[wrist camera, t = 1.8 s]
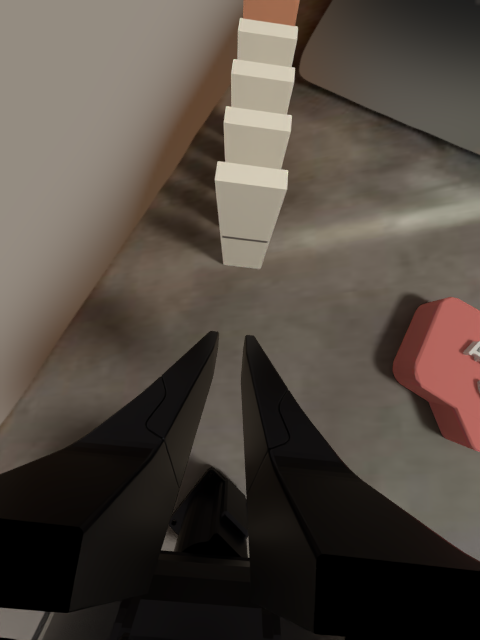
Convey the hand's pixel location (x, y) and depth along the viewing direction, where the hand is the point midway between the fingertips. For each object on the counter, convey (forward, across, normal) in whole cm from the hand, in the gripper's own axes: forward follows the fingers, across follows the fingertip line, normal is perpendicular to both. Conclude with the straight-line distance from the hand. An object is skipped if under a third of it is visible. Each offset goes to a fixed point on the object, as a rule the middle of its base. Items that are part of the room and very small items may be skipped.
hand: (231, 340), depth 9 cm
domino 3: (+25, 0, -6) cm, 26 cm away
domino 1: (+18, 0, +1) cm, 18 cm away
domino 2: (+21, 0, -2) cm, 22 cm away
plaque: (+9, -30, +11) cm, 33 cm away
